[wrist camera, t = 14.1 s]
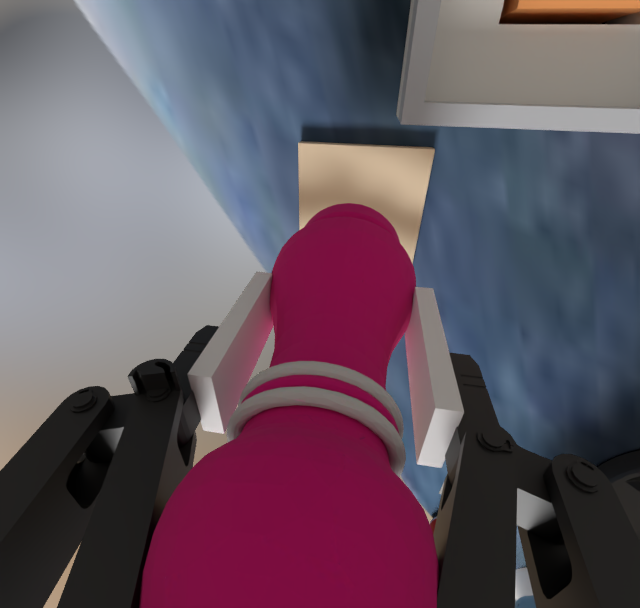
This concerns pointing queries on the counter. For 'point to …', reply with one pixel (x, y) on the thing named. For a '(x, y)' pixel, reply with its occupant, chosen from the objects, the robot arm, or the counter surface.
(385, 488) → the pepper mill
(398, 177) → the cork mat
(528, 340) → the counter surface
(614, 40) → the grey open box
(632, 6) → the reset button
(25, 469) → the robot arm
